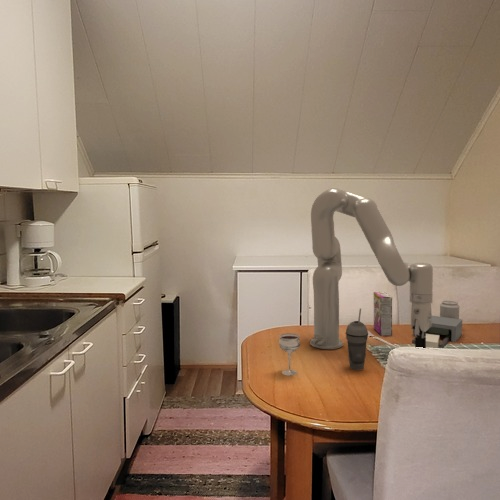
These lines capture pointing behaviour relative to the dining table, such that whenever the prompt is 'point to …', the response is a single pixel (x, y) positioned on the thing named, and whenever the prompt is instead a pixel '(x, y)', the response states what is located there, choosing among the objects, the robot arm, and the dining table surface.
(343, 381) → the dining table surface
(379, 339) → the fork
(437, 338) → the cream rectangular block
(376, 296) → the candy bar box
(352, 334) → the beverage cup
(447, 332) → the low shelf
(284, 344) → the wineglass
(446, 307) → the can
